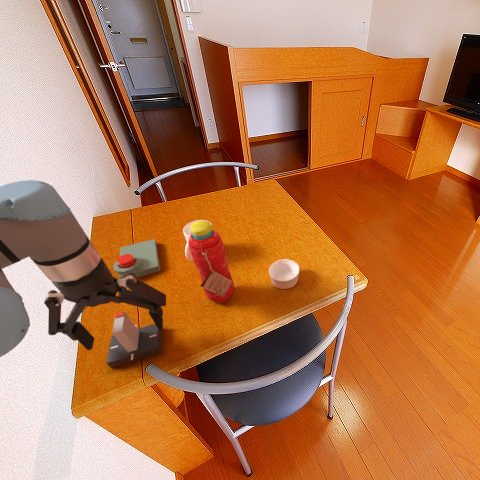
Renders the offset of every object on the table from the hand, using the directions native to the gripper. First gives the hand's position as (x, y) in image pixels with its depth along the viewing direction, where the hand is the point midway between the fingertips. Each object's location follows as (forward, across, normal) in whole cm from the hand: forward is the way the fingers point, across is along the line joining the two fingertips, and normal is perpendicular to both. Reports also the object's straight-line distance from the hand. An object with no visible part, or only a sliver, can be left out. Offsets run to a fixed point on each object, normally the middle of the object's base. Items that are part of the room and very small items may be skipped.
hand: (127, 334), depth 61 cm
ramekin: (+6, -39, -8) cm, 40 cm away
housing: (+6, +2, -31) cm, 32 cm away
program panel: (+6, 0, 0) cm, 6 cm away
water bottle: (+6, -20, -8) cm, 22 cm away
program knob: (+3, 0, 0) cm, 3 cm away
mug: (+6, -16, -27) cm, 32 cm away
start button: (+2, +3, -27) cm, 27 cm away
